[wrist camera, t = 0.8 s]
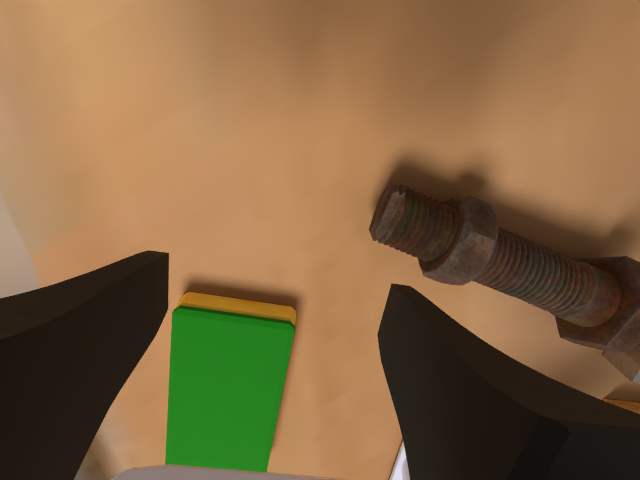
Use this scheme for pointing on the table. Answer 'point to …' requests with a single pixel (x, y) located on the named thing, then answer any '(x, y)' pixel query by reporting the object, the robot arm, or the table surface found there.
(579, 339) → the bolt
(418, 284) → the table surface
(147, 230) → the table surface
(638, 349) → the grey u-shaped bracket
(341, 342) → the table surface
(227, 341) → the dish sponge
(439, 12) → the table surface
